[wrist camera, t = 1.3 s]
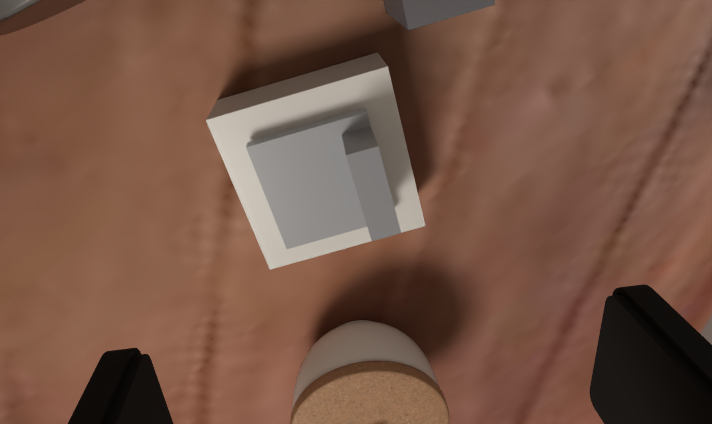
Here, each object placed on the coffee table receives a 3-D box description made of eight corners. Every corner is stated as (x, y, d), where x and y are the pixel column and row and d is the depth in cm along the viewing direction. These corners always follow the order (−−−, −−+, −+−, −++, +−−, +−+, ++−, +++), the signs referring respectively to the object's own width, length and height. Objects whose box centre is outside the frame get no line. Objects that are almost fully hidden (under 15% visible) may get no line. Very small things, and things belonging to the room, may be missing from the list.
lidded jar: (442, 370, 43) (476, 472, 34) (325, 413, 44) (331, 523, 35) (398, 275, 38) (425, 367, 29) (268, 327, 39) (258, 430, 30)
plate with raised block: (365, 107, 27) (374, 130, 24) (393, 212, 30) (404, 245, 27) (247, 142, 27) (239, 169, 24) (287, 242, 30) (285, 279, 27)
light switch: (377, 52, 30) (387, 66, 26) (412, 197, 35) (425, 225, 31) (216, 100, 30) (205, 120, 27) (273, 237, 35) (269, 269, 32)
